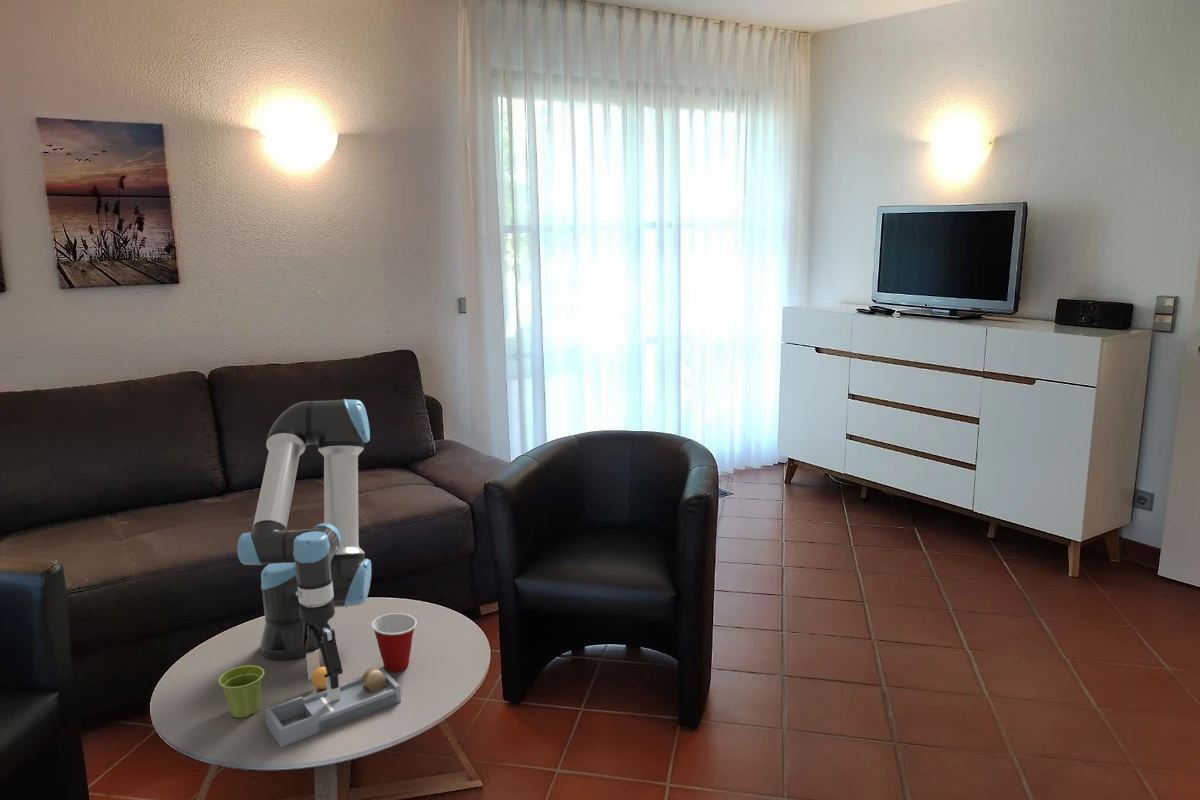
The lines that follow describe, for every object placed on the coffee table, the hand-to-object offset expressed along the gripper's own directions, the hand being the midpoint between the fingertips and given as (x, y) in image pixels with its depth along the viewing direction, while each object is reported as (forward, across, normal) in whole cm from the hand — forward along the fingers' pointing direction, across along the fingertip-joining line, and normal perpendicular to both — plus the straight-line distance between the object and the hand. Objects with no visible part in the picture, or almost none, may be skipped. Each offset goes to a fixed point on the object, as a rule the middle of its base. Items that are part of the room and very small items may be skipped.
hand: (324, 688), depth 192 cm
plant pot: (+3, -7, -16) cm, 17 cm away
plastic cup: (+2, -3, +19) cm, 20 cm away
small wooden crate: (+3, -1, 0) cm, 3 cm away
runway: (+3, +7, 0) cm, 8 cm away
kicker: (0, +7, +9) cm, 12 cm away
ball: (-2, -1, 0) cm, 2 cm away
